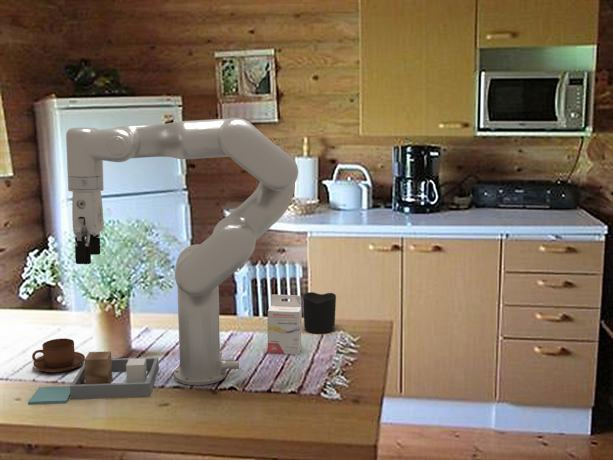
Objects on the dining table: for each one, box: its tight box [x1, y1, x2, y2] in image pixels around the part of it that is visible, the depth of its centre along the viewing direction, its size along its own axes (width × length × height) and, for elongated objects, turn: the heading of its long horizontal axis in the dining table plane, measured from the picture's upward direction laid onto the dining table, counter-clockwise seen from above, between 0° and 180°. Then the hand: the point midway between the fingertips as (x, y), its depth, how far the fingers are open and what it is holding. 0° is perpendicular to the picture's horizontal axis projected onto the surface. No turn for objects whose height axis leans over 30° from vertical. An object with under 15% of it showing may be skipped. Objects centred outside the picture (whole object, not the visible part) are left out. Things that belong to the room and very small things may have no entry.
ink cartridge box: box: [267, 294, 303, 355], centre depth 180 cm, size 9×5×15 cm, turn 84°
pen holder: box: [302, 291, 337, 335], centre depth 198 cm, size 9×9×10 cm
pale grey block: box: [125, 359, 148, 383], centre depth 161 cm, size 4×4×5 cm
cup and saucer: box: [31, 338, 86, 373], centre depth 170 cm, size 12×12×6 cm
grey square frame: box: [69, 357, 160, 400], centre depth 160 cm, size 17×16×3 cm
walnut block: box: [83, 351, 113, 384], centre depth 159 cm, size 5×5×7 cm
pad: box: [28, 385, 71, 405], centre depth 153 cm, size 8×8×1 cm
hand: (88, 258), depth 157 cm, fingers open, 9 cm apart
